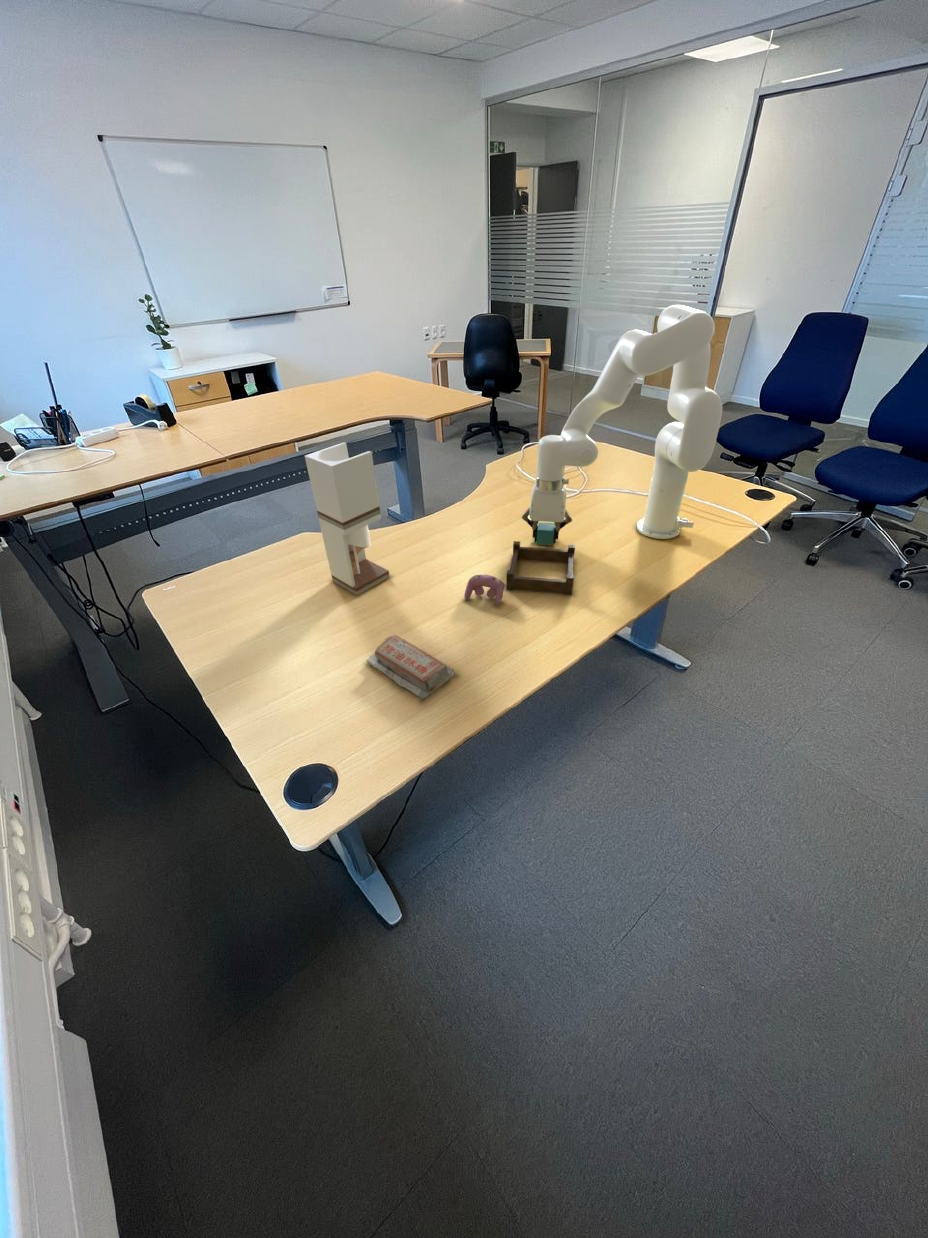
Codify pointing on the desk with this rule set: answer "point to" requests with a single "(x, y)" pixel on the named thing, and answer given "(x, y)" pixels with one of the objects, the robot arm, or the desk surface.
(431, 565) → the desk surface
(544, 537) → the teal block
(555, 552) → the wooden frame
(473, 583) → the video game controller
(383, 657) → the packaged product
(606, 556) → the desk surface
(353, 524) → the tall open-top tower
